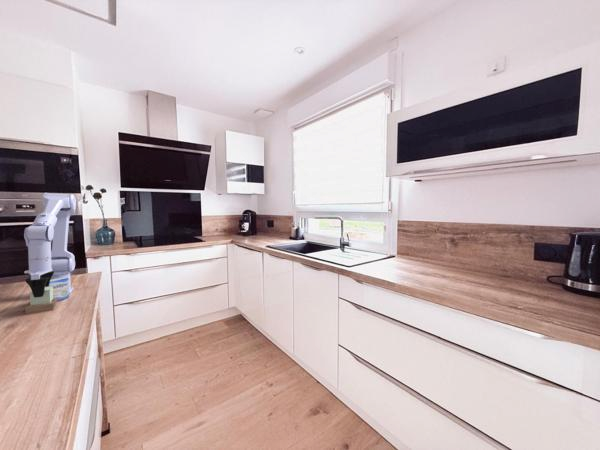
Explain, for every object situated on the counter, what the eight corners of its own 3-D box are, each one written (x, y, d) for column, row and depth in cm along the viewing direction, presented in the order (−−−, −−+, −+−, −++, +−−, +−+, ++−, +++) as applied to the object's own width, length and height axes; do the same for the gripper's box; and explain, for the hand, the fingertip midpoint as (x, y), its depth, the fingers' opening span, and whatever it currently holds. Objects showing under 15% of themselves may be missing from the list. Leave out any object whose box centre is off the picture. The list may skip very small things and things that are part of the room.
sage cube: (34, 301, 91) (34, 288, 91) (53, 298, 94) (52, 286, 94) (30, 305, 87) (30, 292, 87) (50, 303, 90) (49, 289, 90)
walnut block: (30, 308, 91) (29, 301, 91) (56, 304, 96) (56, 297, 96) (25, 315, 86) (25, 307, 86) (53, 310, 90) (53, 303, 90)
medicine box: (46, 304, 94) (46, 282, 94) (38, 303, 95) (37, 281, 95) (69, 297, 102) (69, 277, 102) (61, 296, 103) (60, 276, 103)
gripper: (30, 255, 93) (31, 290, 94) (17, 262, 81) (18, 302, 82) (56, 254, 97) (56, 287, 98) (47, 260, 86) (48, 298, 86)
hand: (41, 294), depth 90 cm, fingers open, 6 cm apart
